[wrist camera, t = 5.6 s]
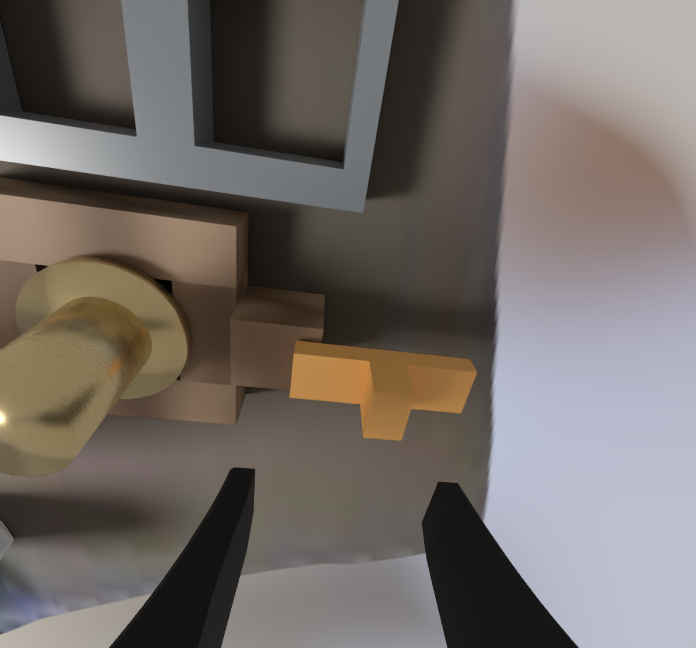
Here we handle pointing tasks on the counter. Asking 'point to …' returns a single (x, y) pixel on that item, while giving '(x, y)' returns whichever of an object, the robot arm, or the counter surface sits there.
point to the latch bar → (380, 383)
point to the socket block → (187, 286)
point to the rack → (200, 117)
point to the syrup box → (4, 540)
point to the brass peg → (83, 357)
